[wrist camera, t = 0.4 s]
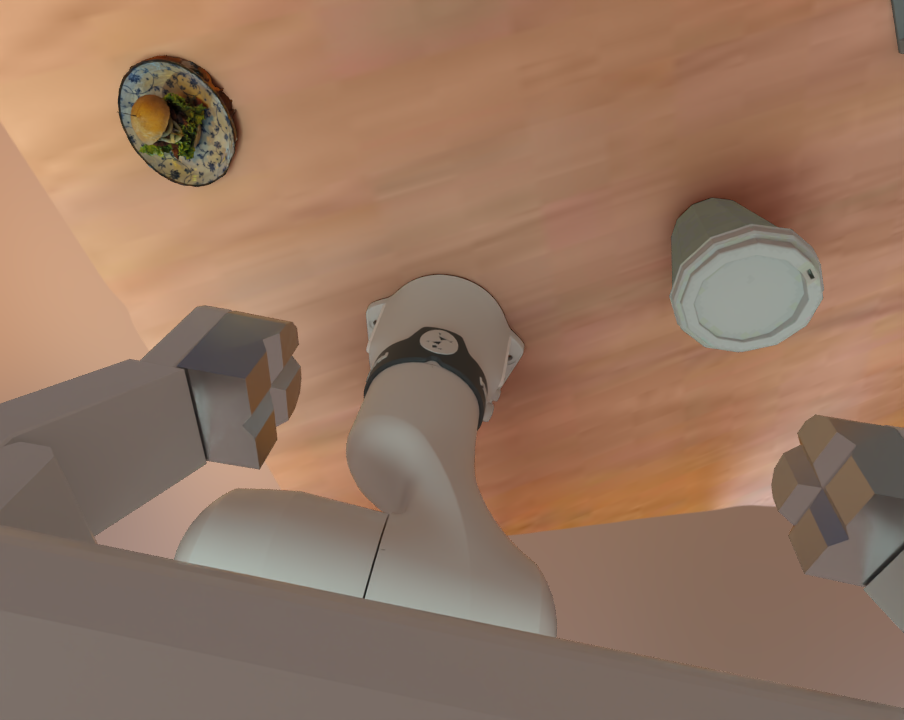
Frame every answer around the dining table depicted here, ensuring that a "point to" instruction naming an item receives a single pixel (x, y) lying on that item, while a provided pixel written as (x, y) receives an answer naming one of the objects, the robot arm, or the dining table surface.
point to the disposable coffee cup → (740, 277)
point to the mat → (899, 22)
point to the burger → (177, 120)
